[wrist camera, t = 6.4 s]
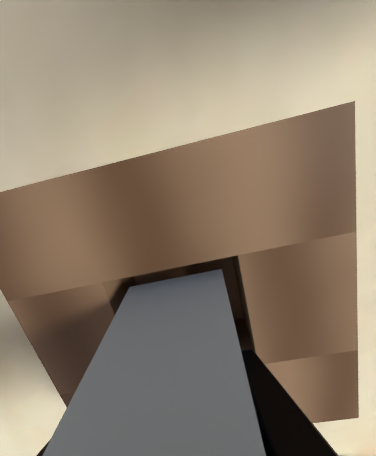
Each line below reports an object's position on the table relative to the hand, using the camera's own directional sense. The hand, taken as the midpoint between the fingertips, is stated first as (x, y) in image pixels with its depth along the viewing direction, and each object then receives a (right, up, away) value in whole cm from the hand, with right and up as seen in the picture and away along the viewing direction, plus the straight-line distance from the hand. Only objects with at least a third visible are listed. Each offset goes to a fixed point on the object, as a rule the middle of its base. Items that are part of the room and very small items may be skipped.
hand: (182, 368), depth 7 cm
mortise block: (0, +2, +6) cm, 6 cm away
